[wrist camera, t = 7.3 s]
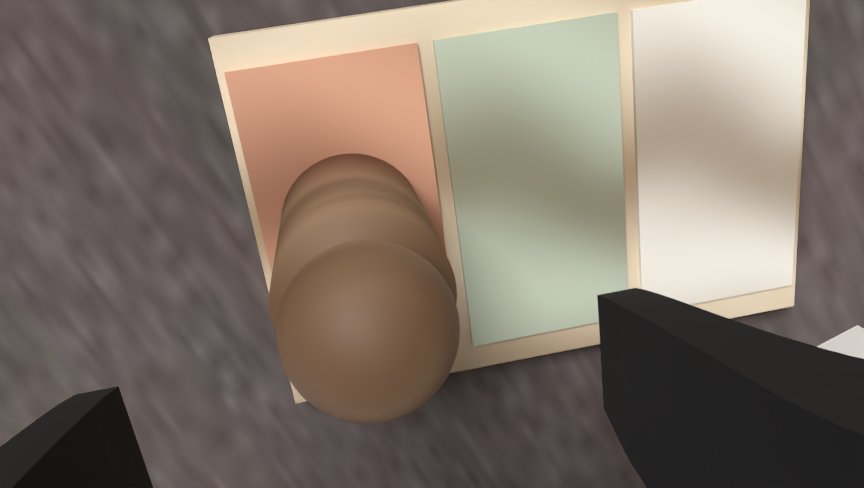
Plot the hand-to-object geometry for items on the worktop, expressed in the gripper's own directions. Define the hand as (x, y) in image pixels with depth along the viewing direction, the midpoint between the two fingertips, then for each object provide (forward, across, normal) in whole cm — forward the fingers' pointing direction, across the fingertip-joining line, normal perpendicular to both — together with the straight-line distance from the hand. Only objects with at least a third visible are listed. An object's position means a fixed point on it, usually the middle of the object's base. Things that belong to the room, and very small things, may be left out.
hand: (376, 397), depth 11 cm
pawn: (+8, 0, 0) cm, 8 cm away
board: (+9, -5, 0) cm, 11 cm away
